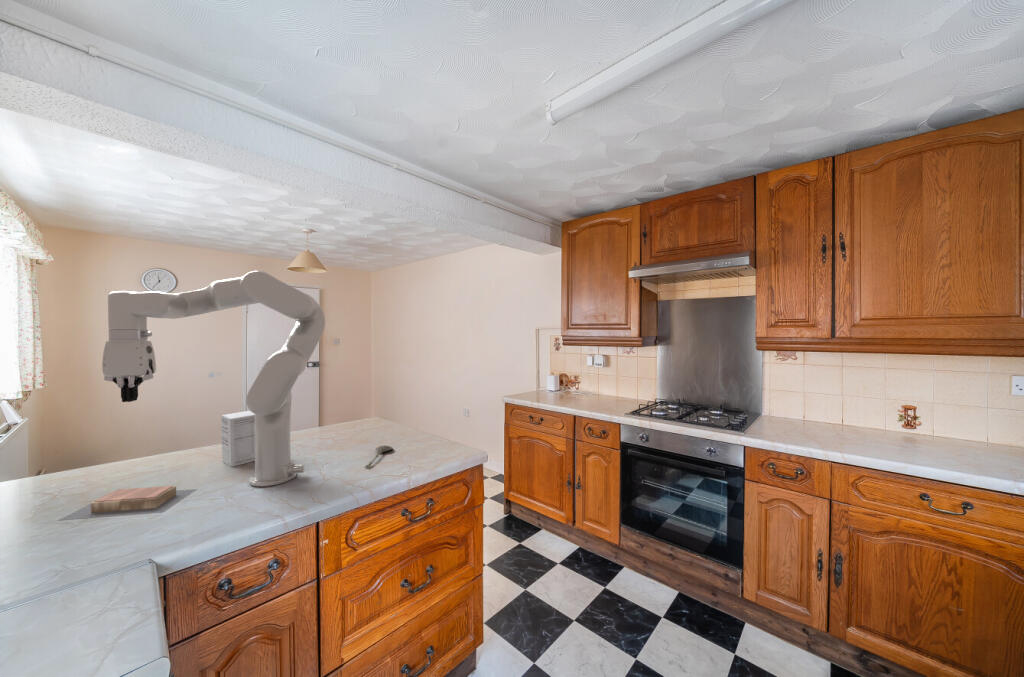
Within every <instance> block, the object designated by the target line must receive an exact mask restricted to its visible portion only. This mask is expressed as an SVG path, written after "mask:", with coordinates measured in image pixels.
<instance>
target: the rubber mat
mask: <svg viewBox="0 0 1024 677" xmlns="http://www.w3.org/2000/svg"><path fill="white" fill-rule="evenodd" d="M197 490H198V488H195V489H182V490H179V489H178V490H177V489H176V495H175V496H173V497H172V498H170V499H169V500H167V501H165V502H164V503H162V504H161V505H159V506H158V507H156V508H147V509H134V510H121V511H107V512H94V513H91V503H90V504H87V505H85V506H84V507H81V508H80V509H78V510H75V511H73V512H72V513H70V514H68V515H66V516H63V517H61V518H60V519H57V521H67V520H83V519H94V518H95V519H96V518H108V517H109V518H110V517H119V516H123V517H124V516H134V515H145V514H146V515H147V514H159V513H161V514H162V513H165V512H166V511H167V510H169V509H170V508H172V507H173V506H174V505H176V504H177V503H179V502H180V501H182V500H184V499H185V498H186V497H188V496H189V495H191V494H192V493H194V492H195V491H197Z"/></svg>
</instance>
